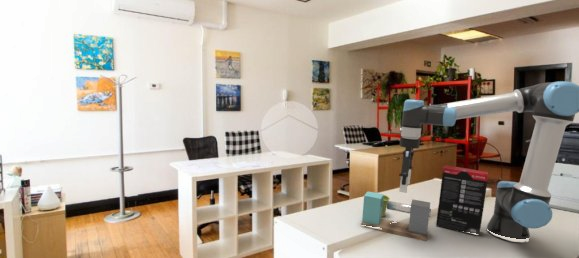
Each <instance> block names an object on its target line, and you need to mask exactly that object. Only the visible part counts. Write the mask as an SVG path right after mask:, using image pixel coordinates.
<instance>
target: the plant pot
mask: <svg viewBox="0 0 579 258" xmlns="http://www.w3.org/2000/svg"><path fill="white" fill-rule="evenodd" d="M388 201H390V196H388V195H386V194H385V195H384V194H383V206H382V217H385V216H386V211H387V202H388ZM384 215H385V216H384Z"/></svg>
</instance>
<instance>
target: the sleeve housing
mask: <svg viewBox="0 0 579 258" xmlns="http://www.w3.org/2000/svg"><path fill="white" fill-rule="evenodd" d="M411 200H412V201H411V204H410V205H411V210H410V213H409V220H408V224H409V230H408V232H411V233H415V234H420V235H424V236H427V237H428V228H429V219H430V217H429V211H430V209H431V202H430V201H424V200H419V199H413V198H412V199H411Z"/></svg>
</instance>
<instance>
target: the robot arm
mask: <svg viewBox="0 0 579 258" xmlns="http://www.w3.org/2000/svg"><path fill="white" fill-rule="evenodd" d="M508 112H510V113H511V112H517V113H518V114H521V113H529V112H530V113H532V118H533V119H534V120H535V123H534V128H533V132H532V136H531V138H530V142H529V146H528V150H527V154H526V157H525V161H524V164H523V169H522V170H521V171H522V172H521V176H520V179H519V182H516V181H507V180H501V181H498V183H497V186H496V192H495V199H494V200H495V201H494V207H493V208H494V209H493V213H492V214H493V215H492V216H491V218H490V219H489V221H488V223H487V225H486V230H487V229H488V230H489V231H491V232H493V233H495V234H498V235H501V236H505V237H510V238H516V239H526V238H529V237H530V238H531V234H530V229H540V228H542V227H545V226H547V225H548V224H550V222H551V220H552V218H553V210H552V207H551V206H550V202H551V200H552V199H551V197H552V194H551V193H550V191H549V190H548V189H549V186H550V184H551V183H550V182H551V178H552V175H553V173H554V169H555V164H556V161H557V158H558V155H559V150H560V148H561V145H562V141H563V137H564V134H565V130H566V127H567V126H569V125H570V124H572V123H574V119H575V116H576V115H577V114H578V113H579V84H578V83H577V84H576V83H574V82H570V81H565V80H564V81H563V80H560V81H559V80H558V81H553V82H548V81H547V82H542V83H538V84H537V83H536V84H535V85H531V86H527V87H522V88H517V89H514V90H513V91H512V92H509V93H508V92H507V93H501V94H496V95H490V96H489V95H488V96H484V97H477V98H469V99H465V100H459V101H453V102H452V101H451V102H446V103H440V104H439V103H438V104H431V105H426V104H425V101H424V100H420V99H419V100H418V99H406V100H405V101H404V103H403V110H402V118H401V127H400V128H399V131H401V132H400V136H401V137H399V139H400V140H399V146H400V147H401V148H405V150H403V151H402V164H401V173H399V174H398V175H399V176H400V182H399V193H405V194H407V193H408V192H407V191H408V185H411V177H412V176H411V174H412V170H414V166H413V160H414V154H415V152H414V149H419V148H420V143H421V141H420V138H421V133H422V125H433V126H443V127H453V126H455V124H456V121H457V120H461V119H468V118H475V117H482V116H490V115H496V114H503V113H505V114H506V113H508Z"/></svg>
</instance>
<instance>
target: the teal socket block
mask: <svg viewBox="0 0 579 258" xmlns="http://www.w3.org/2000/svg"><path fill="white" fill-rule="evenodd" d="M383 195H384V193H380V192H374V191H366V193H365V194H364V195H363V207H362V220H361V223H362V222H365V223H369V224H374V225H379V223H380V221H381V219H382V217H383V216H382V206H383Z"/></svg>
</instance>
